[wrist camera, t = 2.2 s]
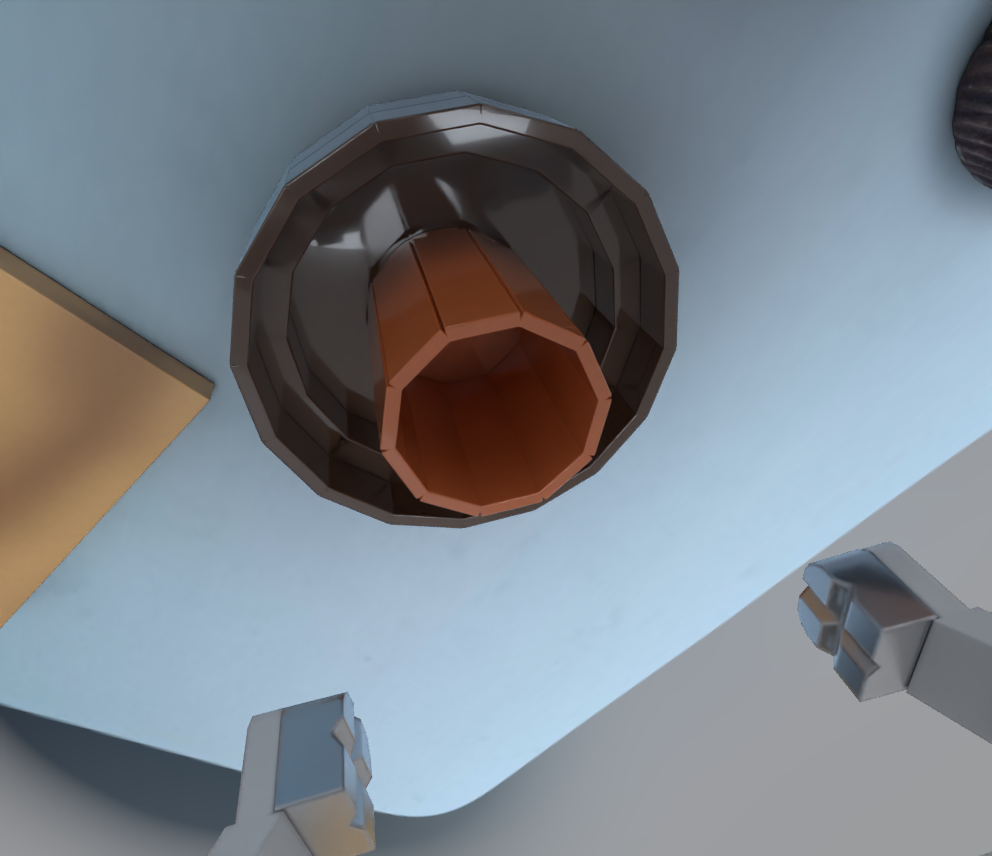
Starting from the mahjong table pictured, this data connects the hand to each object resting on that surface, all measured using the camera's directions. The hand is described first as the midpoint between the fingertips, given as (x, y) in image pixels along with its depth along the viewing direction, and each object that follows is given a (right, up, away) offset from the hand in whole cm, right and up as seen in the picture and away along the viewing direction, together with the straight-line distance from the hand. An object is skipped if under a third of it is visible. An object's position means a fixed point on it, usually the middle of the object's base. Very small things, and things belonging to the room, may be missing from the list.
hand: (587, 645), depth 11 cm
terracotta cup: (-3, +8, +12) cm, 15 cm away
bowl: (-3, +8, +13) cm, 16 cm away
